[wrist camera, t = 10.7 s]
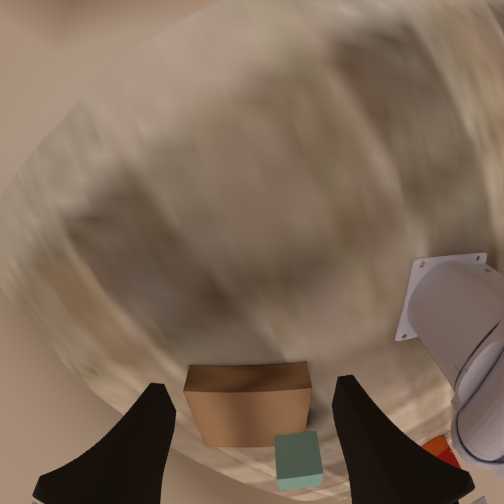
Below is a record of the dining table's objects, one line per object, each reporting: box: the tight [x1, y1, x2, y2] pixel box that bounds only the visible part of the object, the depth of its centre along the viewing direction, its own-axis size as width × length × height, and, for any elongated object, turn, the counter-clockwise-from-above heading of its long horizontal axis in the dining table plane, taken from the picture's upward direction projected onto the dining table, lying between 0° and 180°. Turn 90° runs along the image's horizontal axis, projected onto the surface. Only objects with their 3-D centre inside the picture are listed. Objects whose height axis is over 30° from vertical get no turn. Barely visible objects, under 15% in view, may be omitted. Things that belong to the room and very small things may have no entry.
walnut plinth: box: [183, 362, 312, 447], centre depth 22 cm, size 10×10×3 cm
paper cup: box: [422, 436, 461, 469], centre depth 25 cm, size 8×8×14 cm
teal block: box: [275, 431, 323, 490], centre depth 20 cm, size 4×4×5 cm
